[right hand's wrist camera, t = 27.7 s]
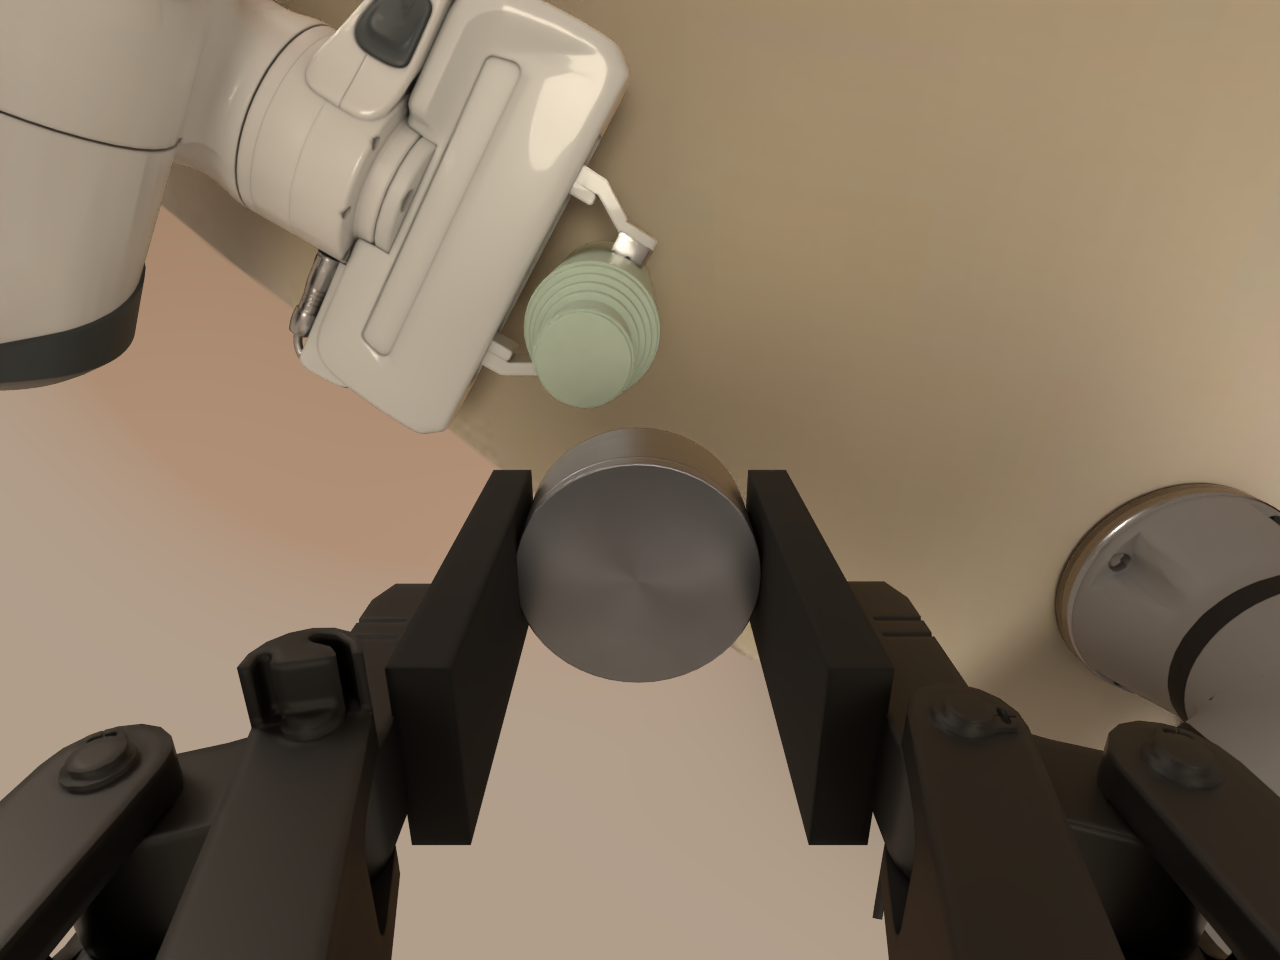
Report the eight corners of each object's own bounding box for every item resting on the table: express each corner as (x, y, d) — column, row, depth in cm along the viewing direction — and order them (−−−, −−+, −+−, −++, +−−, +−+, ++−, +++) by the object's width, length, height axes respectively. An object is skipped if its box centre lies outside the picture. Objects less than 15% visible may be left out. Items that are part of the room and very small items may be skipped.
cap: (523, 611, 15) (506, 670, 13) (537, 414, 14) (520, 448, 12) (727, 633, 15) (739, 694, 14) (764, 441, 14) (784, 479, 12)
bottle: (647, 236, 40) (659, 266, 23) (656, 334, 42) (673, 432, 25) (549, 246, 40) (485, 284, 23) (563, 343, 42) (514, 448, 25)
